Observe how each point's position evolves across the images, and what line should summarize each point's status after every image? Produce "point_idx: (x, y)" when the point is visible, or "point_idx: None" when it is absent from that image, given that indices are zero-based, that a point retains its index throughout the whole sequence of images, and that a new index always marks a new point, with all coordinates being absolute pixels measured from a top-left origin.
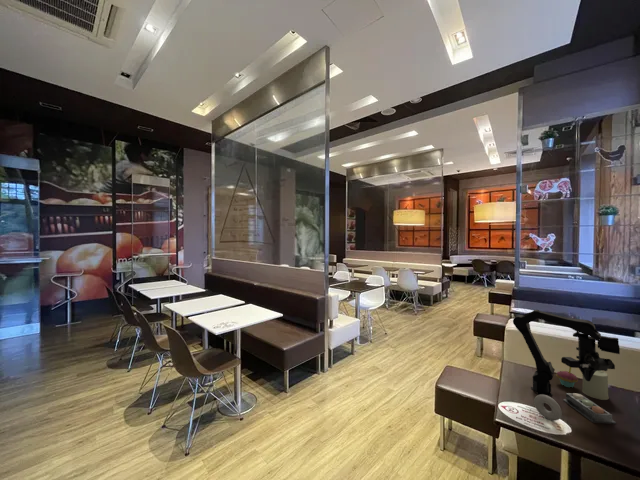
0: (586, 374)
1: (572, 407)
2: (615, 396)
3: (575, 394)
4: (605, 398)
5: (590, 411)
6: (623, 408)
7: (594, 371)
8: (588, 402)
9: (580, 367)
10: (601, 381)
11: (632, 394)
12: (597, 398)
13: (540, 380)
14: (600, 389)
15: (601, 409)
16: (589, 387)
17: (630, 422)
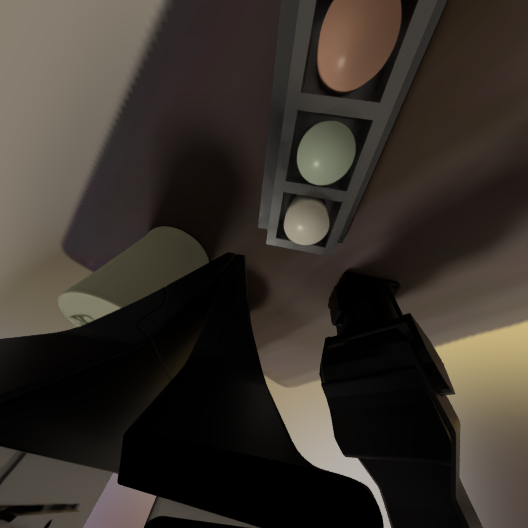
0: (249, 311)
1: (363, 187)
2: (120, 239)
3: (312, 234)
4: (162, 229)
5: (417, 43)
6: (135, 166)
7: (89, 333)
8: (330, 144)
9: (339, 508)
10: (121, 274)
11: (66, 242)
12: (188, 235)
13: (425, 337)
14: (155, 251)
15: (343, 13)
16: (187, 272)
17: (179, 17)
